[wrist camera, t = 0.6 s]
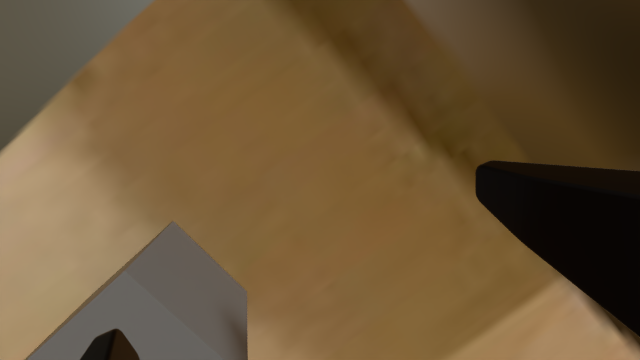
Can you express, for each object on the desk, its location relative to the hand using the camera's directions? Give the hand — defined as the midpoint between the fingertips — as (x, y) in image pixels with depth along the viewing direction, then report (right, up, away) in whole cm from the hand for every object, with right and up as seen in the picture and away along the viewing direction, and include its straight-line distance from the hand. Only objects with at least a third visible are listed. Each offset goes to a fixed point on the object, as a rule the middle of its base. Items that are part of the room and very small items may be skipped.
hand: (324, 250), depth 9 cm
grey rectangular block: (-10, -6, +15) cm, 18 cm away
